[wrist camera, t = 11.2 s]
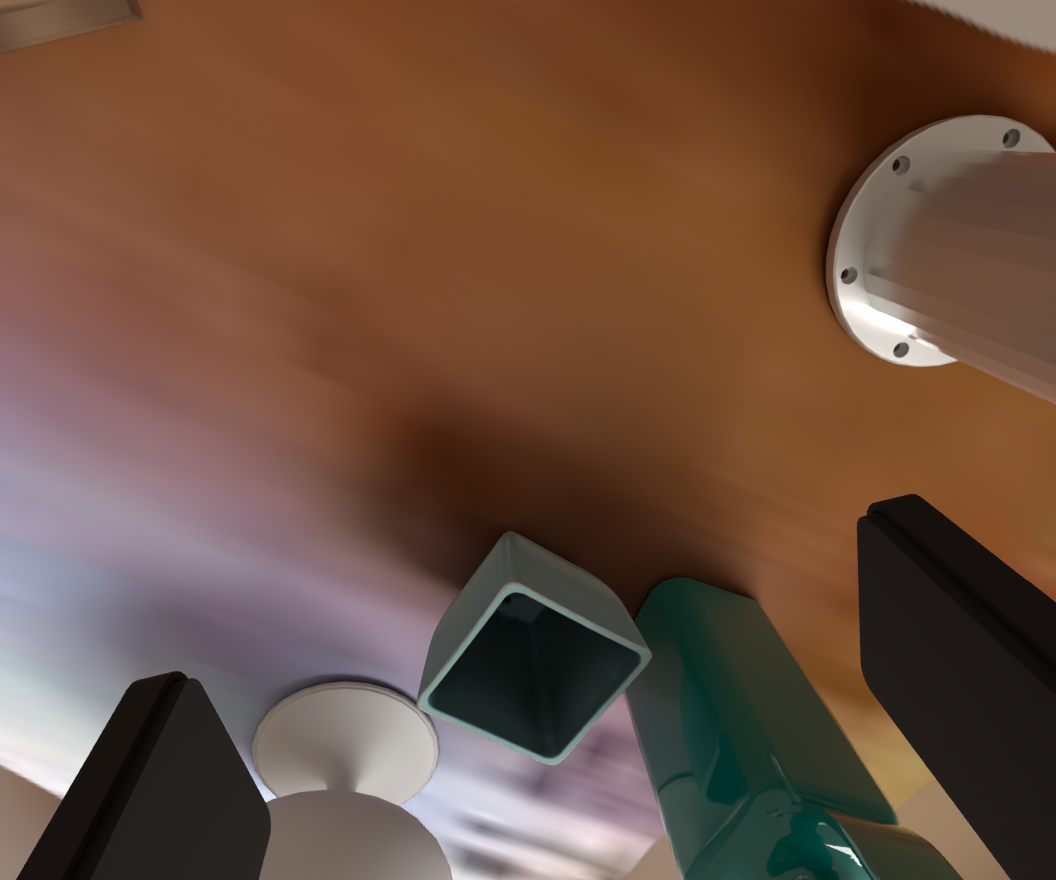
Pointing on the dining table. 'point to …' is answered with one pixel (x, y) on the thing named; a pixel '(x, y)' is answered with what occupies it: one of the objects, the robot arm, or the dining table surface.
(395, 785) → the chalice
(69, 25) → the walnut pedestal
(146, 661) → the dining table surface
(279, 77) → the dining table surface
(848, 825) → the pitcher
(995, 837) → the robot arm
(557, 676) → the flower pot
